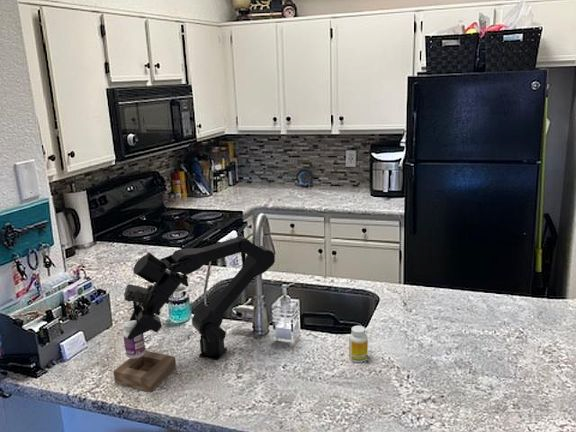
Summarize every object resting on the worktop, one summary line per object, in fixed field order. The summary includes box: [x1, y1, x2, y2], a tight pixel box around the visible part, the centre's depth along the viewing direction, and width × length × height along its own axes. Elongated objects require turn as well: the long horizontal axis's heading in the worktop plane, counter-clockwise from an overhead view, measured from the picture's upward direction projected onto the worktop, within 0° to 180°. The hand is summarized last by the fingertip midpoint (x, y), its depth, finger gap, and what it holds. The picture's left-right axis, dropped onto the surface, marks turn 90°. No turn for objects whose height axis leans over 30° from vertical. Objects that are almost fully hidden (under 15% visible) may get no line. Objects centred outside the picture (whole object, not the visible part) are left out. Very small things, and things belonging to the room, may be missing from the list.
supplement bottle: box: [348, 325, 369, 363], centre depth 152 cm, size 5×5×10 cm
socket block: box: [112, 350, 177, 393], centre depth 148 cm, size 12×12×4 cm
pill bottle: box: [122, 320, 146, 359], centre depth 147 cm, size 5×5×10 cm
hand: (127, 334), depth 146 cm, fingers closed on pill bottle, 5 cm apart
